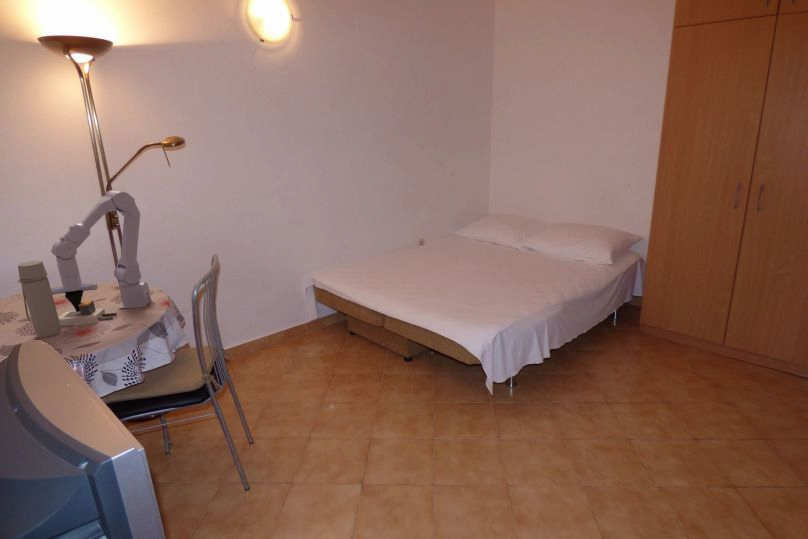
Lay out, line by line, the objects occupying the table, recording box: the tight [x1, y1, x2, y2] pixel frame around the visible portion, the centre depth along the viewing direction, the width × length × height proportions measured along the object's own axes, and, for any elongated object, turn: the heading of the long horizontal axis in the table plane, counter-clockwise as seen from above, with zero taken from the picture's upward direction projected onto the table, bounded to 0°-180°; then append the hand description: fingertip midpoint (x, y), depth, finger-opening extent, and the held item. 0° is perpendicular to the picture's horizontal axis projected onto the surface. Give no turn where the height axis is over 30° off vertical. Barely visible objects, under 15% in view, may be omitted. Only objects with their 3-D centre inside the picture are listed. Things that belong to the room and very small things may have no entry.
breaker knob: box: [79, 299, 97, 315], centre depth 175 cm, size 3×4×4 cm, turn 9°
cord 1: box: [98, 316, 114, 321], centre depth 175 cm, size 5×1×1 cm, turn 99°
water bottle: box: [17, 260, 62, 339], centre depth 161 cm, size 9×8×25 cm
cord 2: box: [102, 312, 117, 317], centre depth 178 cm, size 5×1×1 cm, turn 99°
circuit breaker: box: [58, 308, 106, 327], centre depth 175 cm, size 13×8×3 cm, turn 99°
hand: (78, 310), depth 175 cm, fingers closed
